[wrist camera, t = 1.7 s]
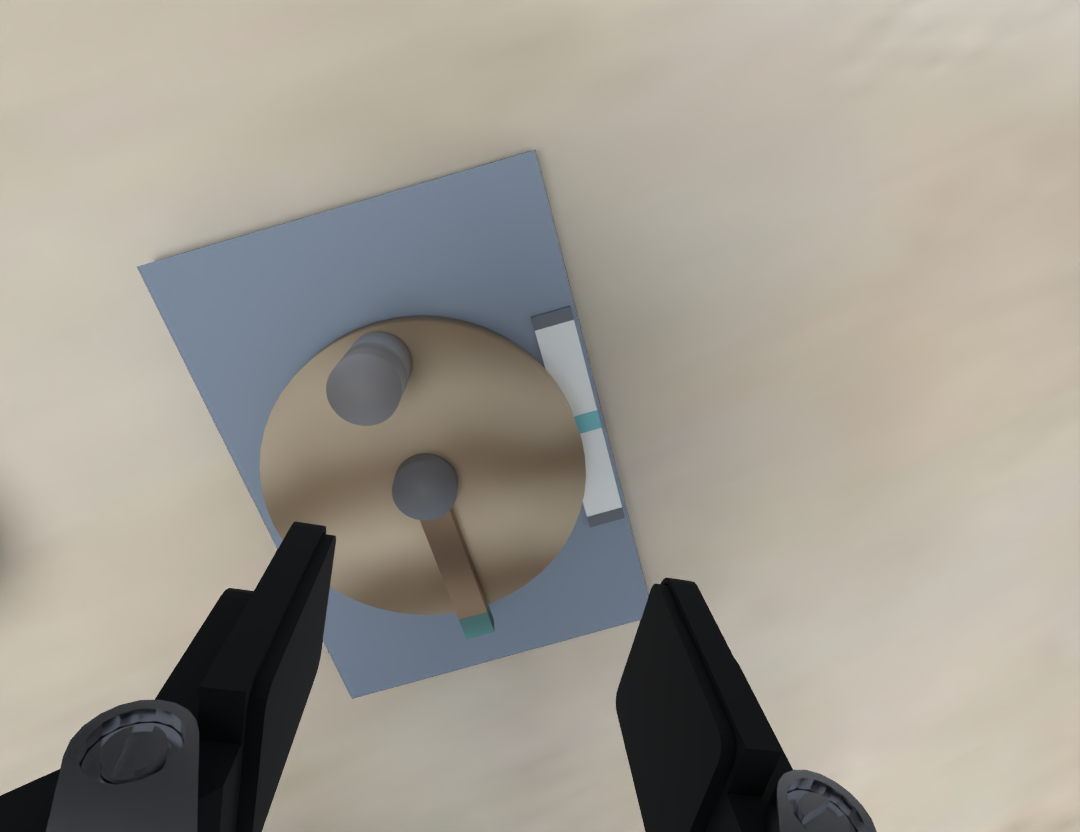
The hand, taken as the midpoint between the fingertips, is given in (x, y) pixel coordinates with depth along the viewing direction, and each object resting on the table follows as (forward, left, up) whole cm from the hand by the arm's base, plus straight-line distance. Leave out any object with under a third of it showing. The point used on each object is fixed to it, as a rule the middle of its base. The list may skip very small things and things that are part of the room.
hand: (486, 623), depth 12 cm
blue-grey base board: (-4, +4, -20) cm, 20 cm away
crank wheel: (-4, +4, -18) cm, 19 cm away
